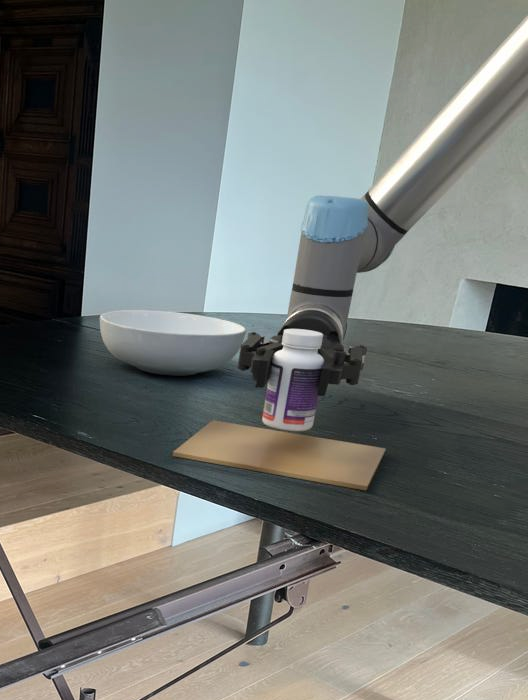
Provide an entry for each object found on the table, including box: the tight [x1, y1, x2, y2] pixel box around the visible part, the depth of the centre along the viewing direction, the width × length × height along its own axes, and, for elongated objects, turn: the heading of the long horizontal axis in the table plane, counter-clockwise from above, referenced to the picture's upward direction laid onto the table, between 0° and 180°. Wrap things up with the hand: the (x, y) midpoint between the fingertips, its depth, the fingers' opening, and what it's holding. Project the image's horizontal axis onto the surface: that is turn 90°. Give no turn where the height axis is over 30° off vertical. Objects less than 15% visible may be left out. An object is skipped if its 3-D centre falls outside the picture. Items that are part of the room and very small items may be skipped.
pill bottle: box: [261, 329, 324, 432], centre depth 104 cm, size 5×5×10 cm
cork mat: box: [172, 419, 387, 491], centre depth 107 cm, size 20×16×1 cm
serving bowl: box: [99, 309, 247, 377], centre depth 143 cm, size 21×21×7 cm
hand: (292, 378), depth 99 cm, fingers closed on pill bottle, 5 cm apart
